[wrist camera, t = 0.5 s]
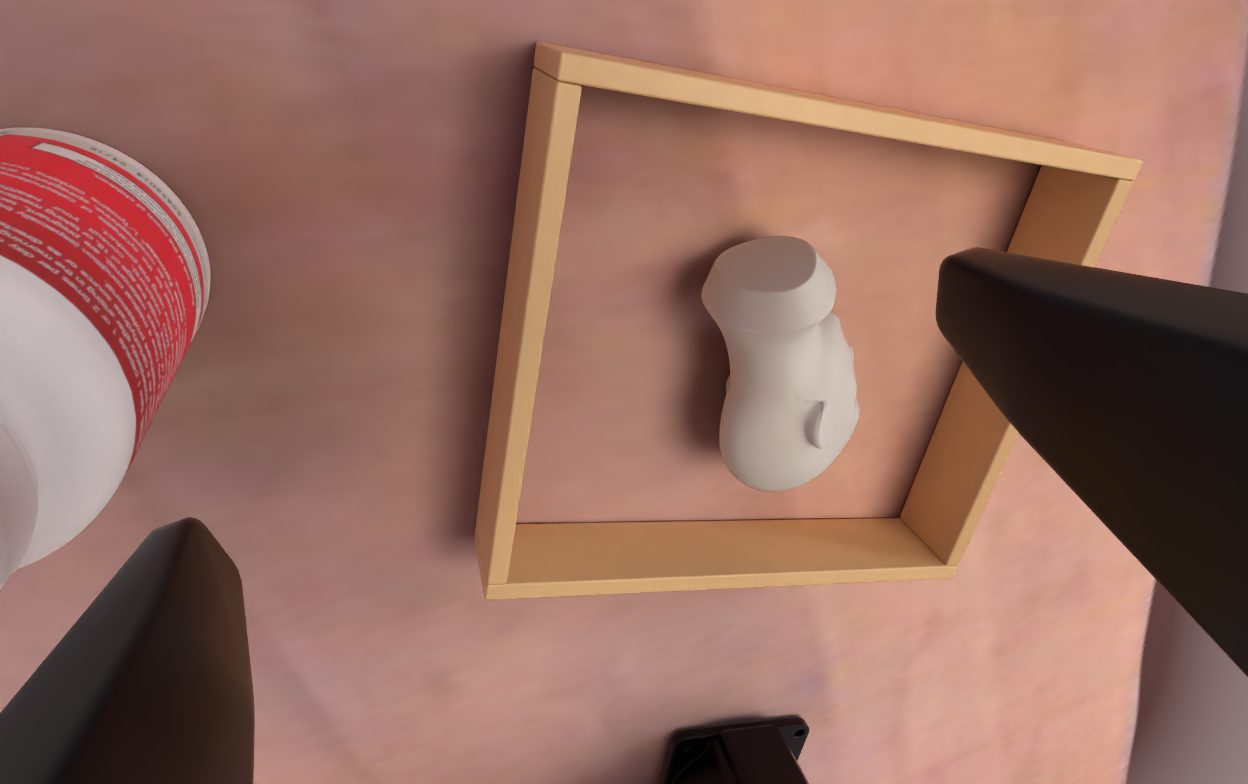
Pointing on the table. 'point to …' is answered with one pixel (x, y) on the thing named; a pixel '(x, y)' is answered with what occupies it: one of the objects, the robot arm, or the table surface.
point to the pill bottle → (83, 327)
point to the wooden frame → (754, 549)
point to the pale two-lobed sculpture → (781, 363)
